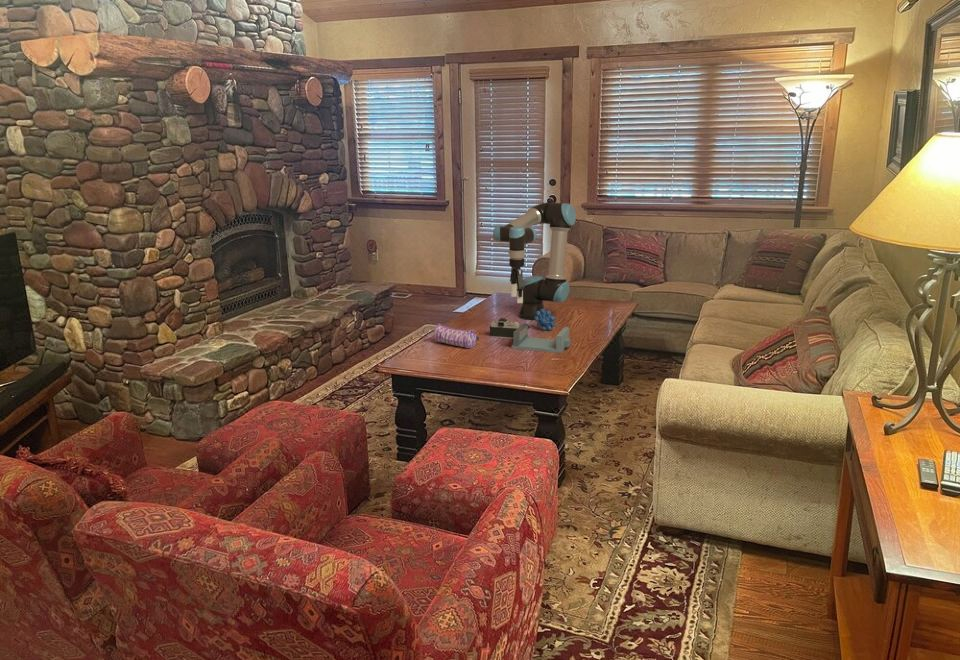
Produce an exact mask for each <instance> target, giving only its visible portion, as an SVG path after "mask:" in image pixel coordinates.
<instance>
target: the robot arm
mask: <svg viewBox="0 0 960 660" xmlns="http://www.w3.org/2000/svg"><path fill="white" fill-rule="evenodd" d="M576 213H577V212H576V210H575V207H574V206H573V205H572V204H571V203H566V202H564V203H563V202H542V203H539V204H536V205H534V206H532V207H531V208H529V209H527V211H526V212H525V213H524V214H522V215H520V216H518V217H517V218H515V219H514V220H512V221H511V222H509V223H508V224H506V225H503V226H502V225H500V226H495V227H494V229H493V232H492V235H493V236H492V237H493V240H495V241H498V242H501V243H503V242H505V243H508V244H509V247H508V248H509V251H508V252H507V253H508V254H509V255H508V256H509V261H508V262H509V263H508V265H509V267H511V270H510V277H509V278H510V279H509V282H510V297H512V298H513V297H515V298H516V303H517V304H521V306H520V309H519V311H518V312H519V313H518V317H519V319H523V320H528V321H536V320H535V319H534V317H535V316H537V315H536V311H540V310H541V309H545V307H544V302H552V303H560V304H561V303H563V302H565V301H566V300H567V298H568V296H569V293H570V284H569V282H567V278H566V276H565V265H566V255H567V254H566V253H567V245H568V242H567V241H568V233H569V231H570V230H571V229H572V226H574V225H575V223H576V221H577V220H576V219H577V214H576ZM539 224H542V225H543V224H546V225H549V229H550V230H551V237H550V238H551V239H550V250H549V263H548V273H547V275H546V276H545V277H543V275H533V276H528V277H527V276H526V277H523V275H524V274H523V270H522V269H521V268H522V267H524V266H525V256H526V255H525V254H526V253H525V252H526V251H525V245H527V244H531V243H533V242H535V241H536V239H537V237H538V232H537V230H536V229H535V228H533V227H532V226H537V225H539ZM543 301H544V302H543Z"/></svg>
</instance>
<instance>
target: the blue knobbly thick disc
mask: <svg viewBox="0 0 960 660" xmlns="http://www.w3.org/2000/svg"><path fill="white" fill-rule="evenodd" d="M536 315H537V316H535V317H534V319H535V320H534V321H536V326H537V327H538V328H541V330H542V331H543V332H545V331H552V330H553V328H554V327H556V322H555V321H556V317H555V316H554V315H552V311H550V310H546V309H545V308H544V309H541V310H540V311H536Z"/></svg>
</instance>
